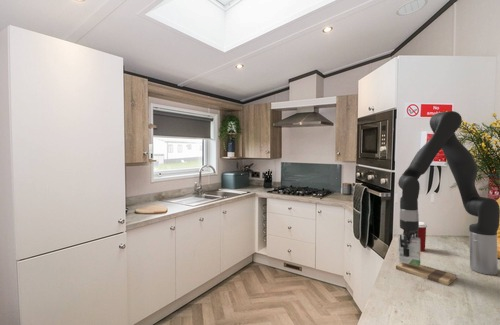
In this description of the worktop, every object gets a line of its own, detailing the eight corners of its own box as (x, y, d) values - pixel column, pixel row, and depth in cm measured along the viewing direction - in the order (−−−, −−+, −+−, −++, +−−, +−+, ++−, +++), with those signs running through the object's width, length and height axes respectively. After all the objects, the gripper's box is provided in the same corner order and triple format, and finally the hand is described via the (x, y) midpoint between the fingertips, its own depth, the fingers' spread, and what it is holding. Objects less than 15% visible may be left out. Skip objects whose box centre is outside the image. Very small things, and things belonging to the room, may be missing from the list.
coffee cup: (427, 248, 144) (426, 222, 143) (427, 253, 137) (427, 225, 136) (409, 246, 148) (409, 220, 148) (409, 250, 141) (408, 223, 141)
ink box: (398, 262, 119) (397, 237, 119) (399, 258, 123) (399, 234, 123) (420, 266, 114) (419, 240, 113) (420, 262, 118) (420, 237, 118)
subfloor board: (405, 263, 125) (405, 260, 125) (456, 278, 108) (456, 274, 108) (395, 269, 119) (395, 265, 119) (447, 285, 103) (447, 281, 103)
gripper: (407, 215, 125) (407, 248, 125) (393, 219, 117) (393, 255, 117) (424, 217, 119) (425, 253, 119) (411, 222, 111) (411, 261, 111)
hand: (409, 254), depth 118 cm, fingers closed on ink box, 6 cm apart
